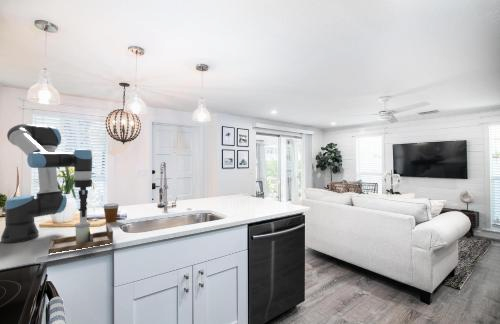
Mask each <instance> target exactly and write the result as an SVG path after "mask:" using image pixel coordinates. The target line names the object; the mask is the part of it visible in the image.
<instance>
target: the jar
mask: <svg viewBox="0 0 500 324" xmlns="http://www.w3.org/2000/svg"><path fill="white" fill-rule="evenodd" d="M90 225H91V222H90V221H87V223H82V224H80V222H78V223H75V224H74V227H75V236H76V244H80V243H86V242H90V227H91V226H90Z"/></svg>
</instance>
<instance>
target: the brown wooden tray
mask: <svg viewBox="0 0 500 324" xmlns="http://www.w3.org/2000/svg"><path fill="white" fill-rule="evenodd" d="M105 226H106V227H105V229H106V230H104V231H98V232H93V241H92V242H86V243H80V244H76V235H70V236H63V237H58V238H57V237H56V238H51V241H50V245H49V248H48V249H47V250H48V253H47V255H48V254H50V253H56V252H62V251H69V250H76V249H82V248H88V247H93V246H100V245H105V244H110V243H113V244H114V231H113V229H112V226H111V223H106V225H105Z"/></svg>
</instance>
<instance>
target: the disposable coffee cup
mask: <svg viewBox="0 0 500 324" xmlns="http://www.w3.org/2000/svg"><path fill="white" fill-rule="evenodd" d="M103 210H104V216H105V218H104V219H105V222H106V224H111V223H116V222H117V217H118V210H119V204H118V203H113V202H112V203H106V204H103Z"/></svg>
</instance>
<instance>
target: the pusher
mask: <svg viewBox="0 0 500 324" xmlns="http://www.w3.org/2000/svg"><path fill="white" fill-rule="evenodd" d="M93 233H94V232H93V227H92V226H90V242H92V241H93Z"/></svg>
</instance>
